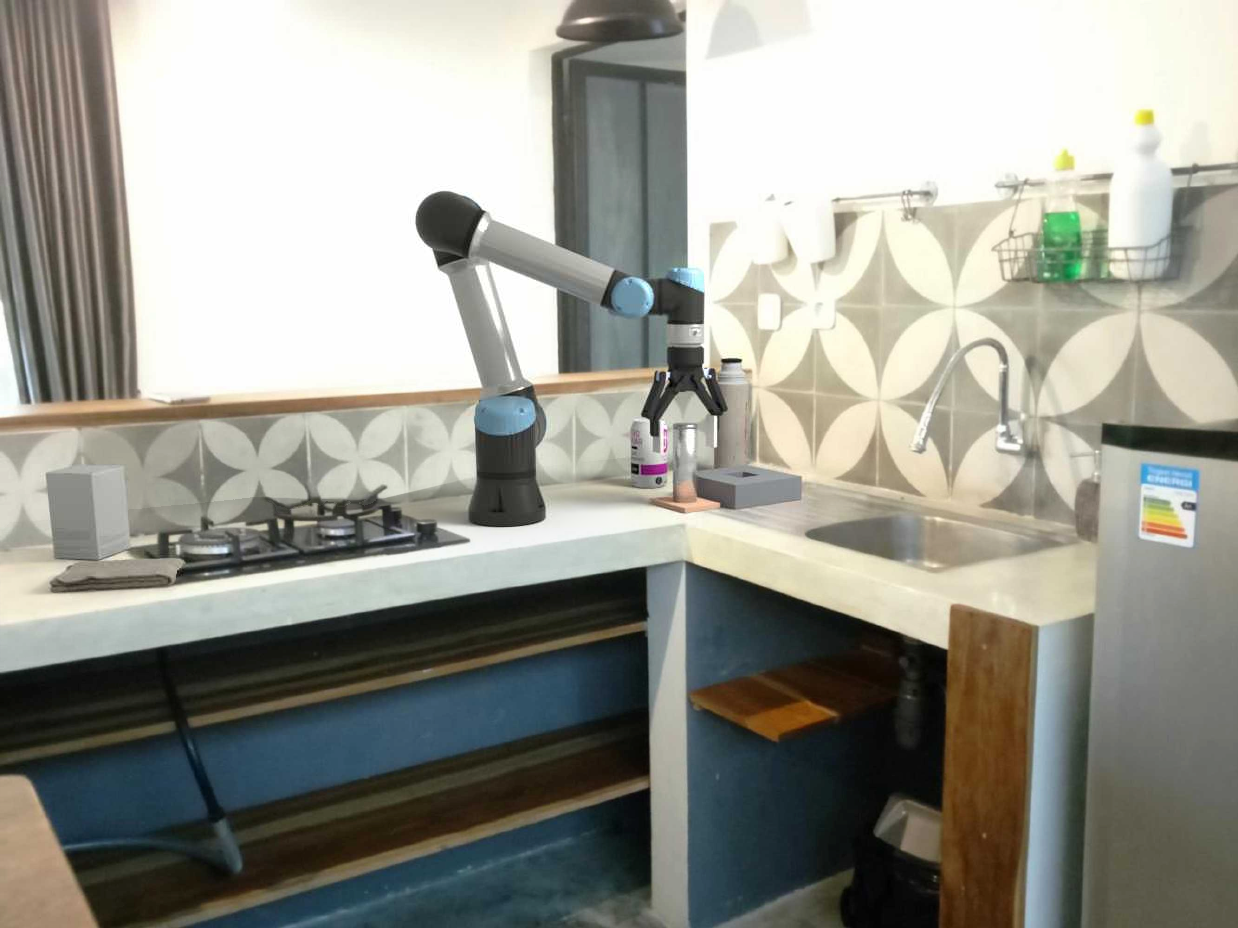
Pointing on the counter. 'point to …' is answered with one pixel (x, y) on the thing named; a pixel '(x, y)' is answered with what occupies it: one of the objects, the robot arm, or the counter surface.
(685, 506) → the pad
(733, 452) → the thermos bottle
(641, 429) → the supplement can
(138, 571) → the washcloth
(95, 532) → the supplement box
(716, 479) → the block
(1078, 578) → the counter surface
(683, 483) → the shiny metal cylinder
